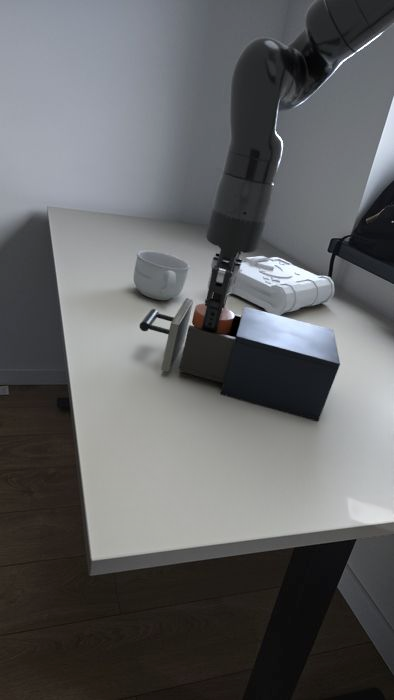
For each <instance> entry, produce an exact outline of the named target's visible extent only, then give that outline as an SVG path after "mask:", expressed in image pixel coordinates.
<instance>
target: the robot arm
mask: <svg viewBox="0 0 394 700" xmlns="http://www.w3.org/2000/svg"><path fill="white" fill-rule="evenodd" d="M392 26H394V0H314V1H313V2H312V3H311V4H310V5H309V6H308V8H307V10H306V11H305V14H304V28H303V29H302V30H301V32H300V33H299V34H298V35H297V36H295V38H294V39H293V40H292V41H291V42H290V43H288V44H287V45H286V44H284V43H282V42H281V41H279V40H277V39H275V38H272V37H268V36H262V37H257V38H255V39H253V40H252V41H250V42H249V43H247V44H246V46H244V48H243V49H242V51H241V52H240V54H239V55H238V57H237V59H236V61H235V64H234V67H233V71H232V75H231V81H230V90H229V141H228V145H227V150H226V153H225V159H224V163H223V167H222V172H221V175H220V178H219V180H218V183H217V186H216V189H215V194H214V198H213V202H212V208H211V212H210V217H209V221H208V225H207V230H206V234H205V235H206V236H205V238H206V240H207V241H208V243H210V244H212V245H213V246H217V247H218V248H220V251H219V252H215V255H214V256H213V258H212V260H211V261H212V262H211V263H210V264H211V265H210V268H211V271H210V275H209V279H208V283H207V295H206V299H205V300H204V303H205V306H207V308H206V312H205V316H204V321H203V325H202V329H206V330H210V331H214V332H216V331H217V329H218V325H219V321H220V317H221V313H222V310H223V308H226V304H227V300H228V297H229V295H232V294H231V292H232V288H233V285H234V284H235V280H236V277H237V275H238V273H239V270H240V267H241V263H242V262H243V258H240V256H241V254H242V253H244V254H253V253H256V252H257V251H258V250H259V247H260V243H261V241H262V236H263V233H264V229H265V225H266V222H267V218H268V214H269V211H270V207H271V204H272V203H271V202H272V198H273V190H274V184H275V181H276V177H277V174H278V169H279V167H280V162H281V159H282V154H283V148H284V143H283V140H282V138H281V136H279V134H277V131H276V129H277V119H278V112H286V111H289V110H291V109H294V108H296V107H298V106H299V105H301V104H302V103H304V102H305V101H306V100H308V99H309V98H310V97H311V96H312V95H314V93H315V92H317V91H318V90H319V88H320V87H322V86H323V84H324V83H325V82H326V81H327V80H328V79H329V78H330V77H331V76H332V75H333V74H334V73H335V71H336V70H337V69H338V68H339V67H340V66H341V65H342V64H343V62H345V61H346V60H347V59H350V57H352V56H354V55H355V54H356V53H357V52H359V51H360V50H362V49H364V47H366V46H368V45H369V44H370V43H371V42H373V41H374V40H376V39H377V38H378V37H379V36H381V35H382V34H383V33H385V32H386V31H387V30H389V29H390V28H391V27H392Z"/></svg>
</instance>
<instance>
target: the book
mask: <svg viewBox="0 0 394 700" xmlns="http://www.w3.org/2000/svg"><path fill="white" fill-rule="evenodd" d="M244 258H245V259H244V262H243V261H242V263H241V267H240V270H239V273H238V275H237V277H236V280H235V284H234V285H233V288H232V292H231V294H230V295H236V296H238V297H240V298H242V299H244V300H246V301H248V302H250V303H252V304H254V305H256V306H258V307H261V308H263V309H264V311H265V312H267V313H271V314H275V315H278V316H282V315H283V314H285V313H286V314H287V313H290V312H294V311H298V310H300V308H307V307H313V306H316V305H320V304H324V303H328V302H329V301H330V300H331V299H333V297H334V295H335V290H336V289H335V283H334V281H333V279H332V278H331V277H330V276H327V275H318V274H315V273H313V272H310V271H308V270H305V269H303V268H301V267H299V266H296V265H294V264H292V262H290V261H288V260H285V259H284V258H281V257H278V256H273V257H266V256H264V255H259V256H248V257H244Z"/></svg>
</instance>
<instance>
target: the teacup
mask: <svg viewBox="0 0 394 700" xmlns="http://www.w3.org/2000/svg"><path fill="white" fill-rule="evenodd" d="M190 266H191V265H190V264H189V263H188V262H187V261H186V260H184V259H182V258H180V257H178V256H176V255H172V254H170V253H165V252H162V251H157V250H139V251H138V252H137V253H136V261H135V265H134V270H133V283H134V285H135V287H136V288H137V289H138V291H139V292H140V293H141V295H143V296H145V297H147V298H150V299H153V300H159V301H168V300H172V299H174V298H175V297H177V296H179V295H180V294H181V292H182V291H183V289H184V286H185V282H186V280H187V276H188V272H189V269H190Z"/></svg>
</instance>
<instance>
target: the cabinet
mask: <svg viewBox="0 0 394 700" xmlns="http://www.w3.org/2000/svg"><path fill="white" fill-rule="evenodd" d="M241 315H242V317H241V320H240V324H239V328H238V331H237V335H236V339H235V342H234V346H233V350H232V353H231V357H230V361H229V364H228V368H227V372H226V375H225V379H224V383H222V386H221V390H220V395H222V394H223V395H222V396H225V395H227V396H226V397H228V398H229V397H230V398H232V397H233V399H236V400H240V401H243V402H247V403H250V404H254V405H258V406H261V407H265V408H270V409H273V410H275V411H279V412H283V413H286V412H288V413H287V414H290V415H293V414H294V415H293V416H297V417H301V416H302V417H301V418H304V417H305V419H308V418H309V419H308V420H311V419H312V421H315V422H319V420H320V418H321V415H322V412H323V410H324V408H325V404H326V402H327V400H328V397H329V394H330V392H331V389H332V387H333V384H334V382H335V379H336V376H337V374H338V372H339V368H340V366H341V362H340V357H339V351H338V347H337V342H336V341H337V340H336V336H335V331H334V329H331V328H327V327H323V326H320V325H316V324H312V323H308V322H305V321H301V320H298V319H293V318H289V317H286V316H282V315H275V314H271V313H267V311H263V310H259V309H255V308H251V307H248V306H243V310H242V314H241Z"/></svg>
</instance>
